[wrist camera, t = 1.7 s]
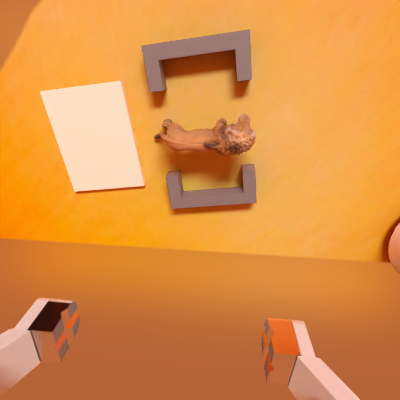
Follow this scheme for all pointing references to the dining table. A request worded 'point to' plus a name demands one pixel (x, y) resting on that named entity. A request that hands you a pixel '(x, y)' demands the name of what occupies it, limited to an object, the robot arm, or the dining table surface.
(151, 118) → the dining table surface
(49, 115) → the ceramic tile
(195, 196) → the grey bracket pair
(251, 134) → the lion figurine
